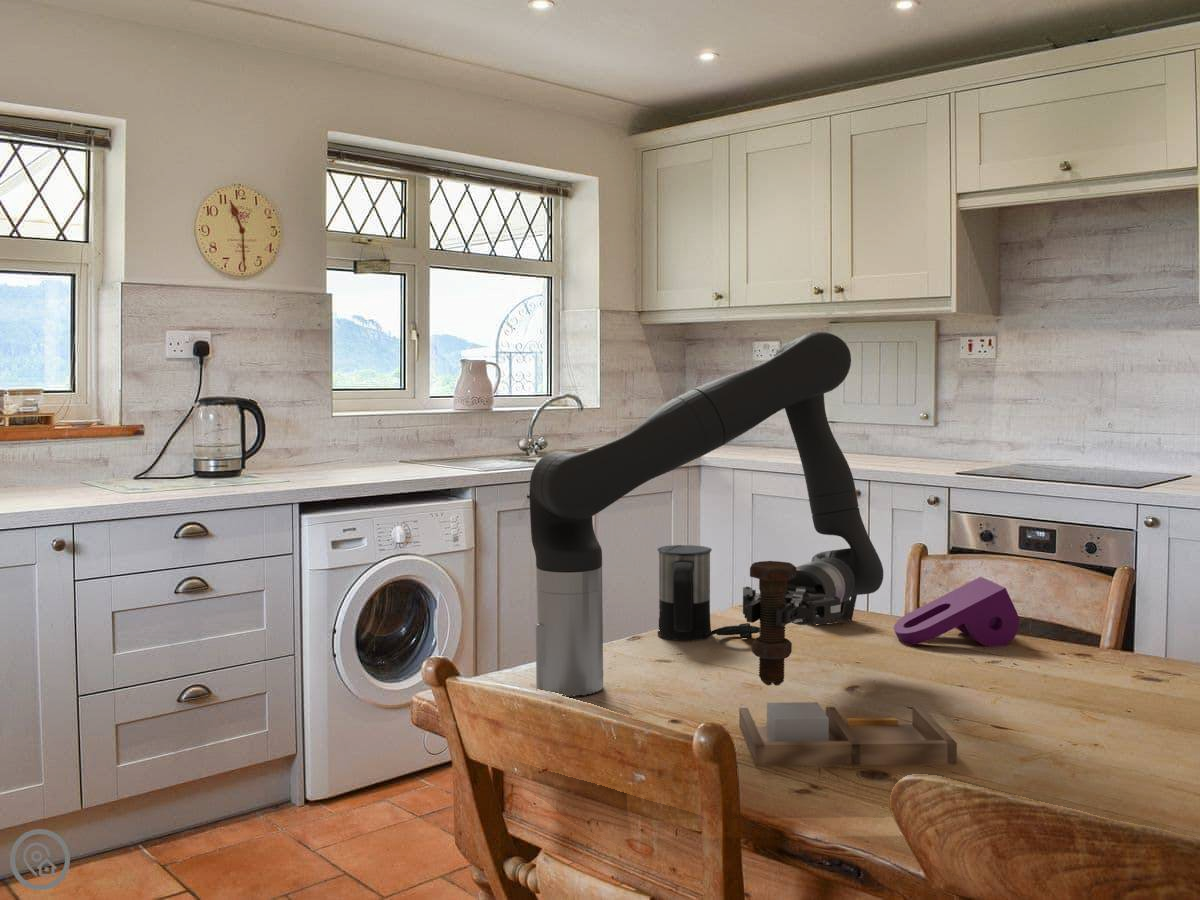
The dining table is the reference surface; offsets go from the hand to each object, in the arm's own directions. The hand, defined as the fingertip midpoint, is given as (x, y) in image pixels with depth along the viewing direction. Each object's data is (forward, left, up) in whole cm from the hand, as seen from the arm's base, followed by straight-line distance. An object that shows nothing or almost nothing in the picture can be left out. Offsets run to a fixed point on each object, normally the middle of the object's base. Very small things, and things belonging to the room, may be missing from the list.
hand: (764, 616), depth 130 cm
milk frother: (-2, +47, -15) cm, 49 cm away
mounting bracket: (+37, +44, -15) cm, 59 cm away
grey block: (+2, -8, -13) cm, 16 cm away
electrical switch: (+21, +57, -15) cm, 62 cm away
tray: (+8, -8, -14) cm, 18 cm away
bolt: (+1, +2, -9) cm, 10 cm away
